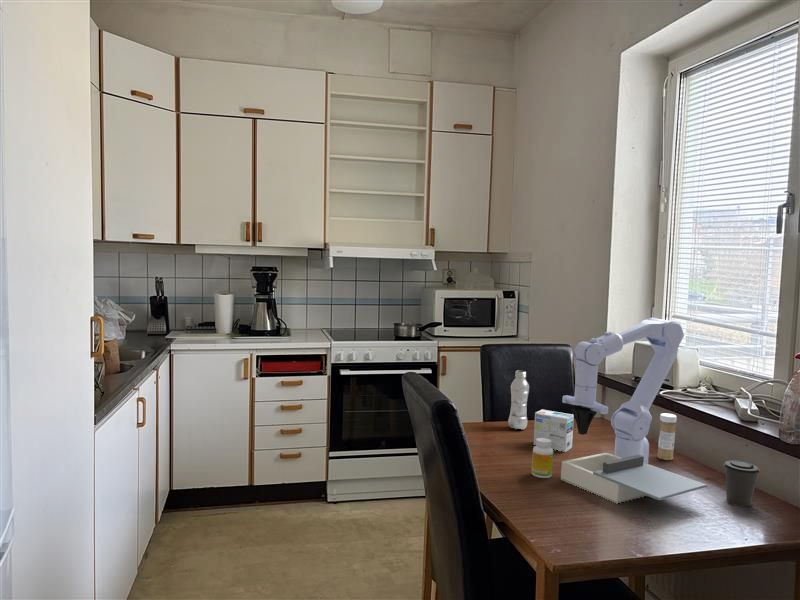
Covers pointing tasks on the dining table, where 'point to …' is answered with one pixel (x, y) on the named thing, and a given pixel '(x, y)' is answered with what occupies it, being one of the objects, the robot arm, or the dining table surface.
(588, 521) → the dining table surface
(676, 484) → the lid
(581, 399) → the robot arm
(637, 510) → the dining table surface
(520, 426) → the plastic bottle
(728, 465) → the coffee cup
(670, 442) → the sprinkles bottle
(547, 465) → the supplement bottle
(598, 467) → the white square shallow box
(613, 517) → the dining table surface
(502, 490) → the dining table surface
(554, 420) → the light bulb box
